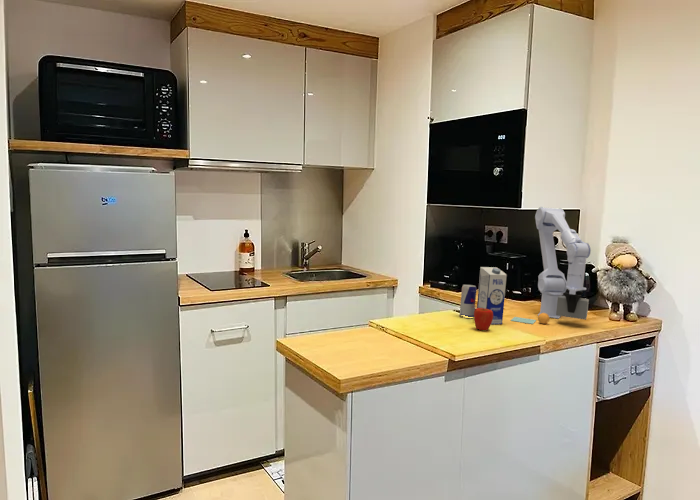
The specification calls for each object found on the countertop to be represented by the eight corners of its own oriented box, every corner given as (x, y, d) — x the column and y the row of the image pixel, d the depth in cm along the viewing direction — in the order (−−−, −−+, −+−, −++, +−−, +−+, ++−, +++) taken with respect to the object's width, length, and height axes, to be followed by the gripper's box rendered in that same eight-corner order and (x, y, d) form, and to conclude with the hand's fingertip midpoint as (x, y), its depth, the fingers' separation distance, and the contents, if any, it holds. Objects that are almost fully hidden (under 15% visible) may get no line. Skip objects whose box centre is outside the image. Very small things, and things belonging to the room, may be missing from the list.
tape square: (514, 317, 202) (514, 316, 202) (536, 320, 198) (536, 320, 198) (510, 320, 195) (510, 320, 195) (532, 324, 191) (533, 323, 191)
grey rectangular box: (557, 312, 199) (559, 295, 199) (586, 317, 194) (588, 299, 194) (556, 315, 194) (557, 297, 193) (585, 319, 189) (587, 301, 189)
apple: (493, 329, 178) (495, 308, 178) (490, 333, 173) (492, 310, 172) (474, 326, 181) (476, 305, 180) (471, 330, 175) (472, 308, 175)
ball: (538, 321, 196) (539, 311, 196) (549, 323, 194) (550, 313, 194) (536, 323, 192) (537, 313, 192) (548, 325, 191) (549, 314, 190)
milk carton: (491, 320, 194) (496, 266, 192) (502, 324, 188) (507, 269, 186) (475, 320, 192) (480, 266, 190) (485, 324, 185) (490, 268, 184)
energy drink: (474, 319, 193) (477, 287, 192) (459, 317, 194) (462, 286, 193) (473, 316, 199) (476, 285, 198) (459, 314, 200) (462, 284, 199)
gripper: (586, 278, 185) (582, 316, 186) (588, 274, 197) (585, 309, 199) (564, 275, 188) (561, 312, 189) (568, 272, 201) (565, 306, 202)
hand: (571, 311), depth 194 cm, fingers closed on grey rectangular box, 6 cm apart
